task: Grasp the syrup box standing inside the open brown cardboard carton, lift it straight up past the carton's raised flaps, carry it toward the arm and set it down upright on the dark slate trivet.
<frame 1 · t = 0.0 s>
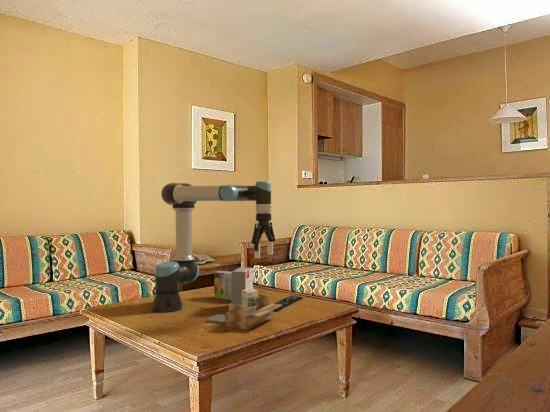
hand: (263, 256, 215), 28 cm above the table, fingers open, 13 cm apart
hard drive box: (242, 308, 226), on the table
trivet: (221, 320, 203), on the table
carton: (250, 321, 201), on the table
remote control: (284, 305, 234), on the table
syrup box: (250, 321, 201), resting in carton
snack box: (231, 299, 247), on the table
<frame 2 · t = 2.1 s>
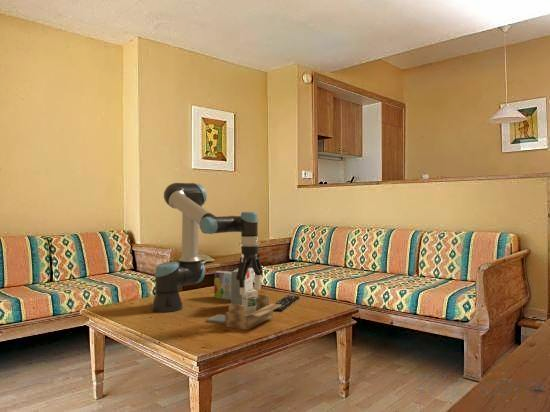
hand: (250, 291, 201), 14 cm above the table, fingers open, 13 cm apart
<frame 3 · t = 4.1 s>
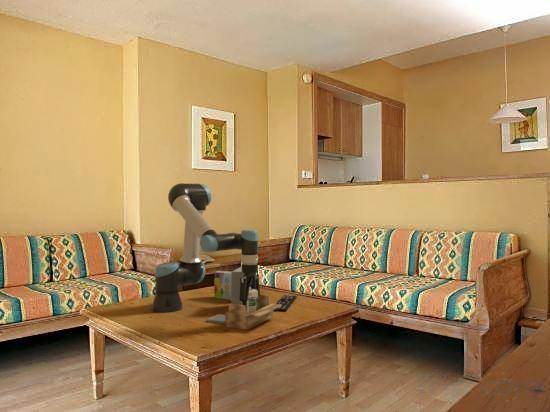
hand: (250, 313, 201), 4 cm above the table, fingers closed on syrup box, 8 cm apart
syrup box: (250, 321, 201), resting in carton, touching gripper
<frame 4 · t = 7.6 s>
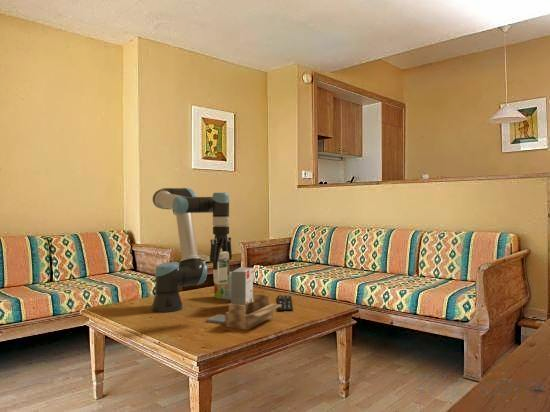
hand: (221, 275, 203), 21 cm above the table, fingers closed on syrup box, 8 cm apart
syrup box: (221, 283, 203), point 17 cm above the table, touching gripper
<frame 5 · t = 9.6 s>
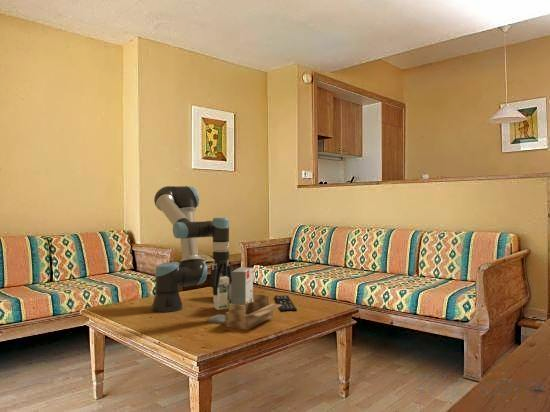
hand: (221, 300, 203), 9 cm above the table, fingers closed on syrup box, 8 cm apart
syrup box: (221, 308, 203), point 5 cm above the table, touching gripper
when the fingers open (6 cm above the table, at t = 11.2 s): syrup box stays where it is, resting on trivet.
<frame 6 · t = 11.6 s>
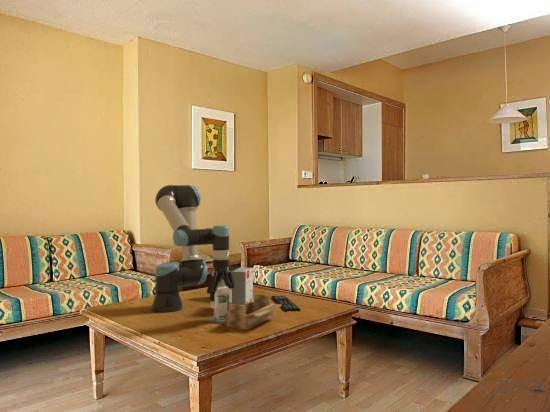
hand: (221, 305, 203), 7 cm above the table, fingers open, 12 cm apart
syrup box: (221, 318, 203), point 1 cm above the table, touching trivet
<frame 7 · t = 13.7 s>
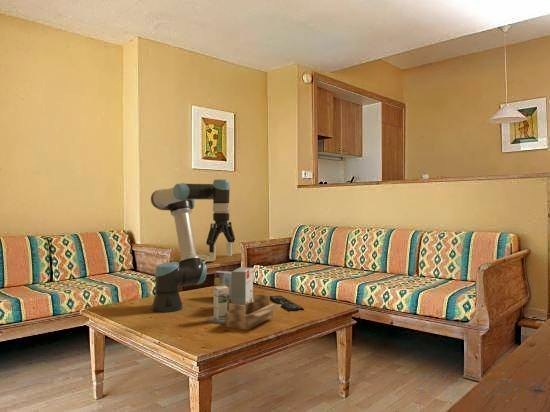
hand: (221, 257, 206), 29 cm above the table, fingers open, 13 cm apart
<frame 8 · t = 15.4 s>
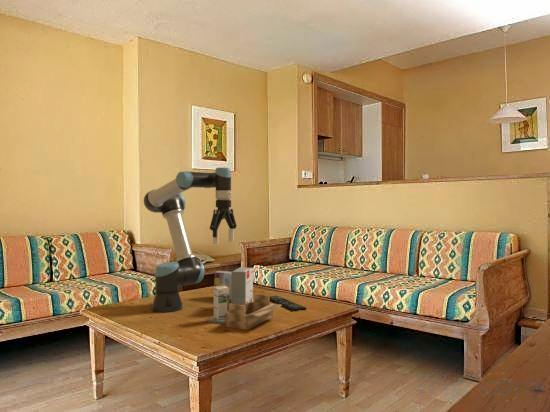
hand: (223, 243, 214), 35 cm above the table, fingers open, 13 cm apart
at the end: syrup box inside the target area on the trivet (0.1 cm from its centre), point 0.8 cm above the trivet's base; syrup box tilted 0°; the gripper is holding nothing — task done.
